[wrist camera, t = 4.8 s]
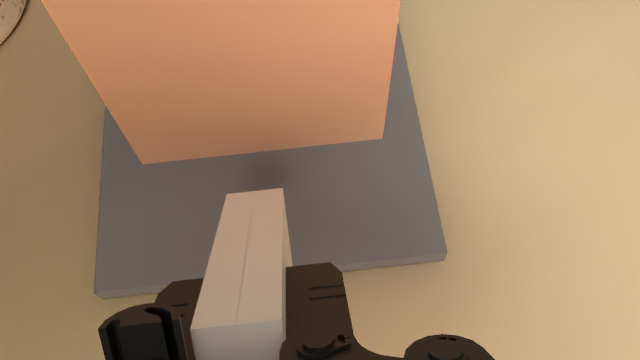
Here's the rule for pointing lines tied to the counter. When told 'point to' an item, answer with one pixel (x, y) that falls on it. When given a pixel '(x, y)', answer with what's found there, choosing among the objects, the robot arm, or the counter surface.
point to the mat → (299, 194)
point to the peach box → (235, 71)
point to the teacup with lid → (9, 16)
